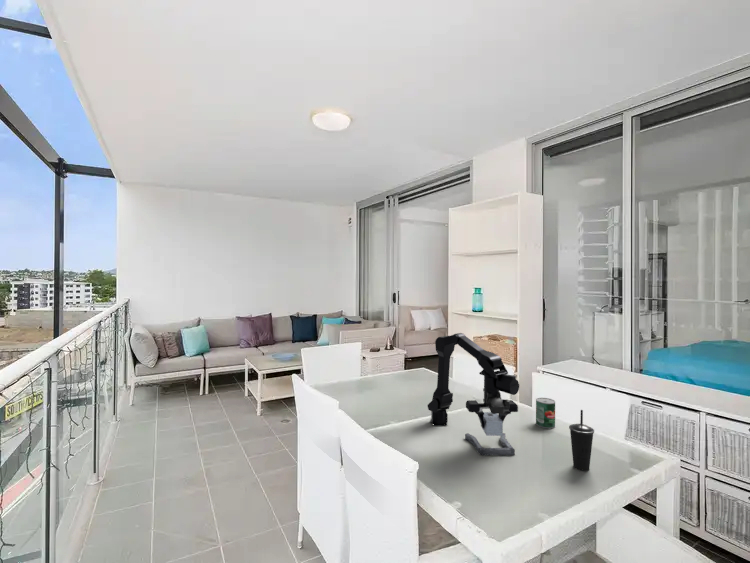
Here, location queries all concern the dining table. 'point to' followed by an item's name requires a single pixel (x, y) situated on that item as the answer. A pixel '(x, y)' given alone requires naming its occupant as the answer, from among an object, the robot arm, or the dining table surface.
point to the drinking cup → (581, 444)
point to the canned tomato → (545, 412)
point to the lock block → (492, 424)
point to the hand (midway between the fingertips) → (491, 428)
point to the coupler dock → (492, 451)
